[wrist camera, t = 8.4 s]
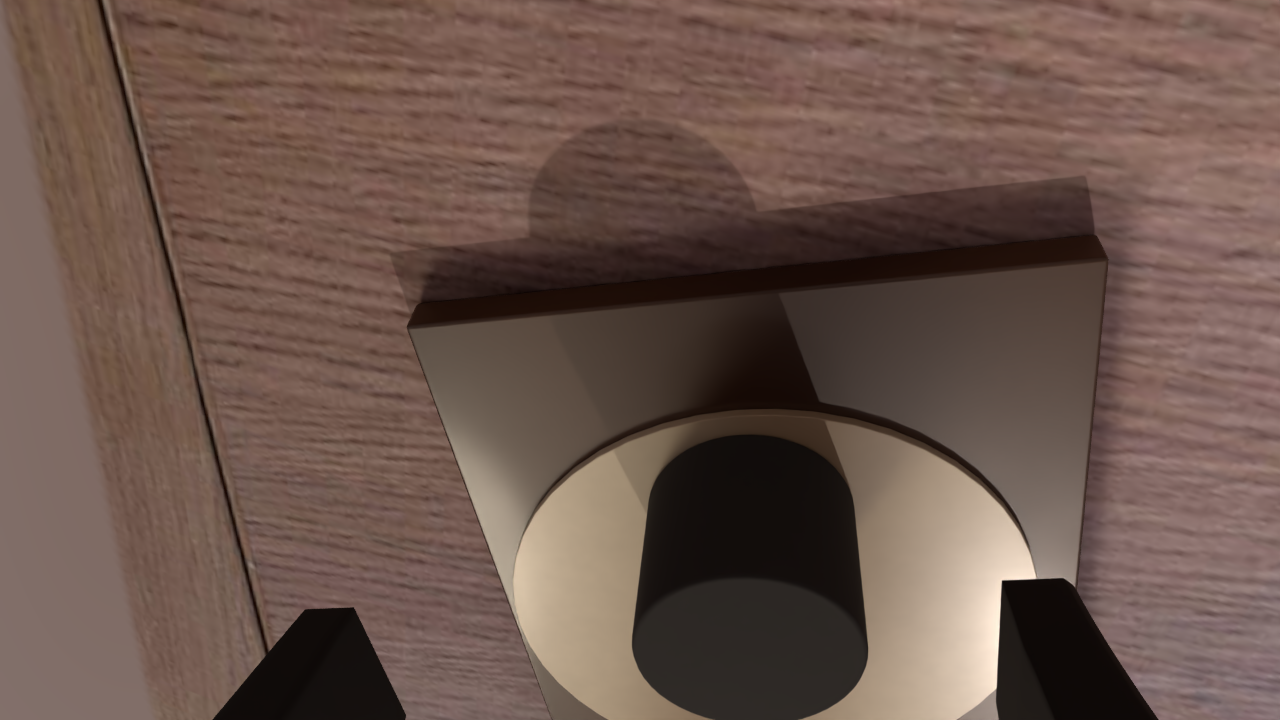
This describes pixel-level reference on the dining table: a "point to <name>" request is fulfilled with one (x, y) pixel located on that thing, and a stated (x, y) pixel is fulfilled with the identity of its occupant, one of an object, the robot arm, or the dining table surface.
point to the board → (792, 410)
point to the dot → (750, 583)
